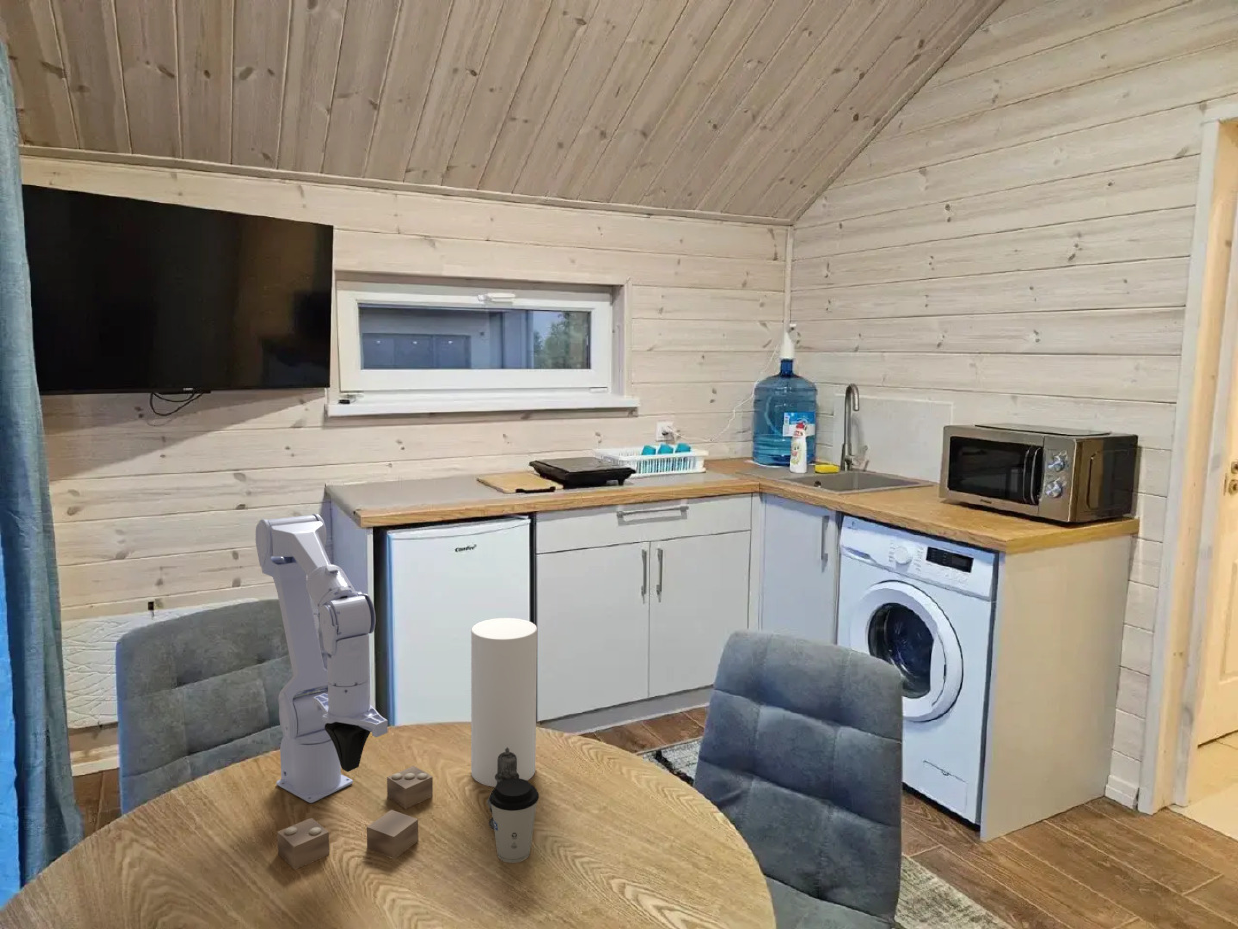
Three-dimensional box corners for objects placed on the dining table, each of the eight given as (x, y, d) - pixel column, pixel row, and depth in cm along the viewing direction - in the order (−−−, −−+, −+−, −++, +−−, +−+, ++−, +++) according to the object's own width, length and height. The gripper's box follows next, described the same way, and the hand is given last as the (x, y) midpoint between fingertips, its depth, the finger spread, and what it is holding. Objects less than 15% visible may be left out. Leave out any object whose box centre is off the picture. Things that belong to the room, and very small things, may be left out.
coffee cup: (546, 844, 120) (547, 779, 119) (525, 873, 114) (526, 804, 112) (502, 834, 123) (503, 770, 121) (479, 861, 116) (480, 794, 115)
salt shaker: (519, 836, 122) (519, 759, 121) (481, 830, 123) (481, 754, 122) (531, 814, 128) (532, 740, 126) (494, 809, 129) (495, 736, 127)
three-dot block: (387, 798, 132) (386, 776, 131) (413, 786, 136) (413, 764, 135) (405, 810, 129) (405, 787, 128) (432, 797, 132) (432, 775, 132)
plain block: (367, 849, 118) (366, 826, 118) (391, 832, 123) (391, 809, 122) (394, 860, 116) (393, 837, 116) (418, 841, 121) (418, 819, 120)
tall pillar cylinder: (531, 788, 136) (533, 640, 132) (465, 786, 136) (465, 638, 132) (538, 756, 146) (540, 618, 143) (477, 754, 146) (477, 616, 143)
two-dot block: (278, 855, 117) (277, 830, 116) (312, 840, 120) (311, 816, 120) (294, 871, 113) (293, 845, 113) (329, 855, 117) (328, 830, 116)
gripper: (293, 675, 121) (296, 763, 123) (357, 701, 113) (359, 795, 115) (335, 661, 127) (337, 745, 129) (399, 685, 118) (400, 775, 120)
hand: (350, 768), depth 122 cm, fingers closed
